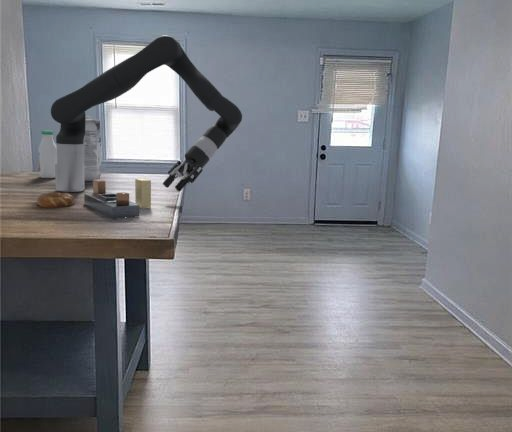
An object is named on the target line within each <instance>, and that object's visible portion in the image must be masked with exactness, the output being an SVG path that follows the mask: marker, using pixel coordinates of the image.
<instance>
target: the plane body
mask: <svg viewBox="0 0 512 432" xmlns="http://www.w3.org/2000/svg"><path fill="white" fill-rule="evenodd" d="M106 187H107V186H106V180H103V179H101V178H100V179H94V180H93V181H92V189H93V190H92V192H88V193H87V192H86V193H85V192H84V193H83V199H84V202H83V203H84V205H85V206H87V207H88V208H90V209H93V210H94V211H97V212H98V213H101V214H102V215H104V216H106V217H107V218H109V217H110V218H109V219H111V218H112V219H111V220H117V219H116V218H121V219H126V218H125V217H132V218H136V217H135V216H140V212H141V211H140V205H138V204H136V203H135V202H134V201H131V200H130V193H129V192H124V191H123V192H122V191H121V192H116V193H115V192H114V193H112V192H110V191H107V190H106Z"/></svg>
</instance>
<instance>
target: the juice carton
mask: <svg viewBox="0 0 512 432" xmlns="http://www.w3.org/2000/svg"><path fill="white" fill-rule="evenodd" d="M85 117H86V121H85V136H84V140H83V144H84V182H93V180H94V179H101V175H102V140H101V139H102V138H101V121H100V119H95V118H94V119H92V116H90V115H85Z"/></svg>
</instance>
